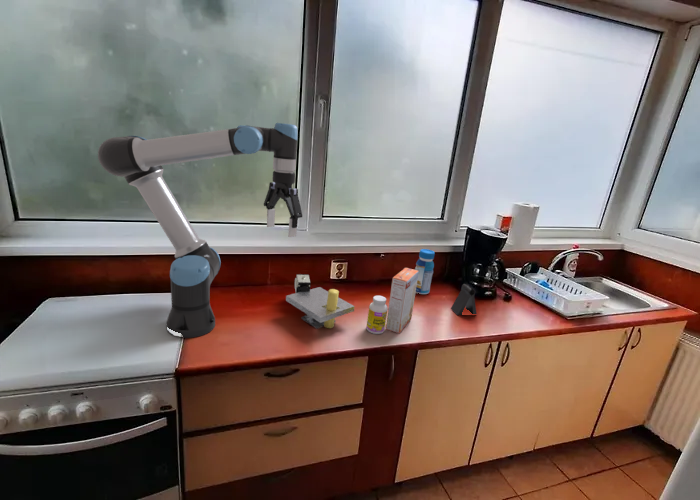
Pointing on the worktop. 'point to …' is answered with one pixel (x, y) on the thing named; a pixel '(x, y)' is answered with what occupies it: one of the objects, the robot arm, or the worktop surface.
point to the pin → (331, 306)
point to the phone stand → (465, 300)
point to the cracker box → (401, 299)
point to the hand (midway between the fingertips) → (281, 231)
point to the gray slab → (318, 306)
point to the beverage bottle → (424, 271)
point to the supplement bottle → (377, 315)
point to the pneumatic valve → (302, 283)
